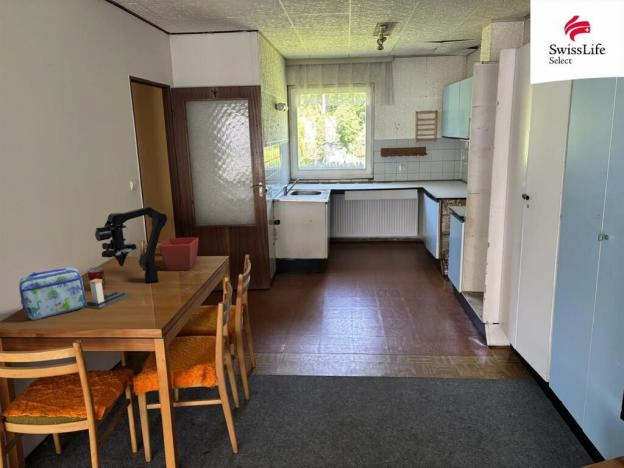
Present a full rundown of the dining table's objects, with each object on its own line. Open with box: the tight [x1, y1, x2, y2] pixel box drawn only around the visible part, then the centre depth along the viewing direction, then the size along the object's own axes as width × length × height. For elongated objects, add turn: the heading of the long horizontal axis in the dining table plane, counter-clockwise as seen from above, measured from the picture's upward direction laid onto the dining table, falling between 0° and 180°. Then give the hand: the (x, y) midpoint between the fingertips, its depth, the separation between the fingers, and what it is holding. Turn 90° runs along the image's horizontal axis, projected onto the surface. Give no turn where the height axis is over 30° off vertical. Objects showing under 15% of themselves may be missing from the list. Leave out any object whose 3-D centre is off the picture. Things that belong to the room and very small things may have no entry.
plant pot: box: [158, 237, 199, 272], centre depth 285 cm, size 19×19×17 cm
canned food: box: [87, 266, 107, 291], centre depth 253 cm, size 8×8×11 cm
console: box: [83, 290, 133, 310], centre depth 234 cm, size 20×12×3 cm, turn 156°
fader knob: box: [88, 279, 104, 303], centre depth 228 cm, size 4×4×11 cm
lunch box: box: [18, 267, 87, 321], centre depth 219 cm, size 26×11×21 cm, turn 123°
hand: (121, 266), depth 248 cm, fingers closed
